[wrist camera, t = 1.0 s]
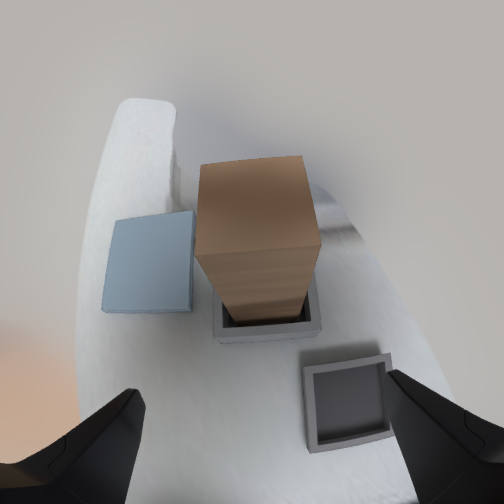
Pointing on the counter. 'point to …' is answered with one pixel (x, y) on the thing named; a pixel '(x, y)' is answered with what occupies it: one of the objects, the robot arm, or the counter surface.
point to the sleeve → (268, 331)
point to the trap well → (346, 403)
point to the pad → (150, 265)
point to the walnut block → (257, 237)
